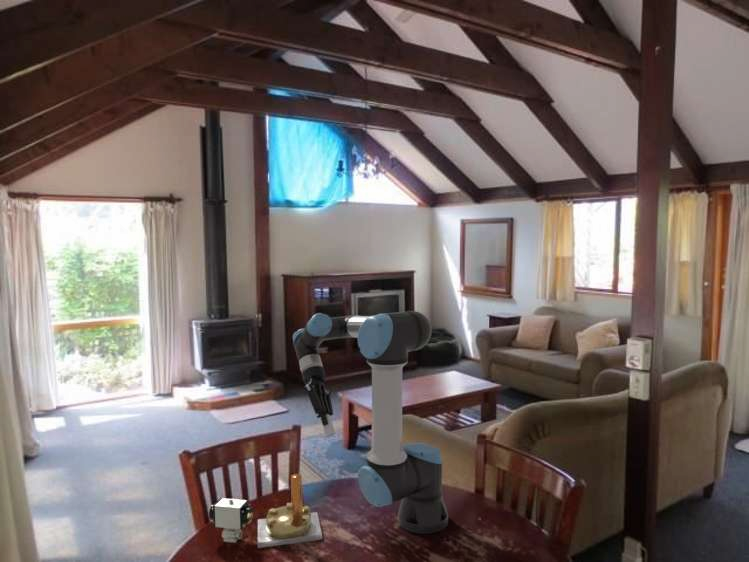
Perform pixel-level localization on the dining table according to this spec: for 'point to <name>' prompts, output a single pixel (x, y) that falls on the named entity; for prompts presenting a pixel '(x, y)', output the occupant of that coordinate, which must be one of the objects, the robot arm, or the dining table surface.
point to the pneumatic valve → (231, 517)
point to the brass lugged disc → (290, 514)
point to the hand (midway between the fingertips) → (330, 435)
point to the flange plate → (269, 540)
